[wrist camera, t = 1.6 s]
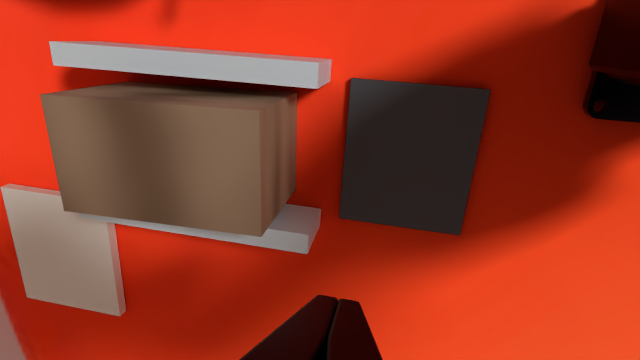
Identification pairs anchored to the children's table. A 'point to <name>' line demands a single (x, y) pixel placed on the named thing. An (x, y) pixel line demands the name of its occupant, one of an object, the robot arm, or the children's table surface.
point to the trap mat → (411, 153)
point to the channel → (293, 220)
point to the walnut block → (175, 153)
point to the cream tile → (64, 252)
